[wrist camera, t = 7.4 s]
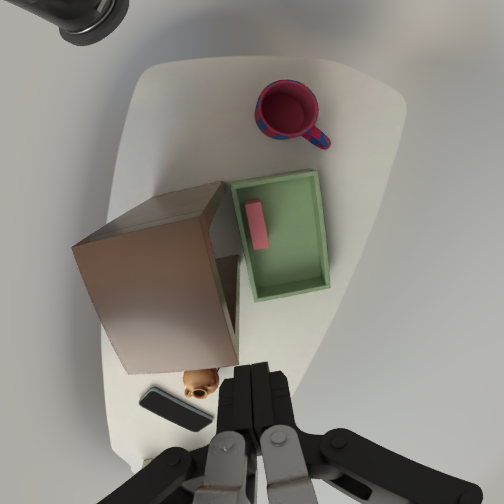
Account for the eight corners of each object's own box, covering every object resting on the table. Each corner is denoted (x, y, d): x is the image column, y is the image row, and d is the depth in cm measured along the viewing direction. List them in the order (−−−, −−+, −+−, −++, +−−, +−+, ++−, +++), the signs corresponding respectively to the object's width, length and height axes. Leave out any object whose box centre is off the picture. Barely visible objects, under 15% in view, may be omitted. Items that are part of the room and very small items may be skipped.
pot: (225, 353, 47) (188, 345, 46) (228, 387, 40) (186, 379, 38) (215, 375, 49) (181, 367, 48) (216, 408, 42) (178, 401, 40)
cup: (280, 82, 33) (288, 68, 26) (332, 135, 35) (349, 133, 29) (243, 114, 34) (244, 106, 28) (297, 167, 37) (308, 171, 30)
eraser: (259, 197, 38) (244, 200, 38) (260, 201, 35) (244, 204, 35) (267, 240, 40) (253, 243, 40) (269, 247, 37) (254, 250, 37)
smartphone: (196, 433, 54) (136, 404, 50) (196, 430, 55) (137, 400, 51) (214, 420, 52) (152, 388, 48) (215, 417, 53) (153, 385, 49)
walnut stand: (152, 197, 37) (70, 247, 18) (222, 181, 37) (199, 216, 17) (173, 276, 42) (127, 374, 22) (240, 264, 41) (238, 365, 21)
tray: (231, 182, 37) (230, 185, 34) (311, 168, 37) (317, 170, 34) (253, 291, 43) (254, 302, 39) (324, 277, 42) (330, 288, 39)
